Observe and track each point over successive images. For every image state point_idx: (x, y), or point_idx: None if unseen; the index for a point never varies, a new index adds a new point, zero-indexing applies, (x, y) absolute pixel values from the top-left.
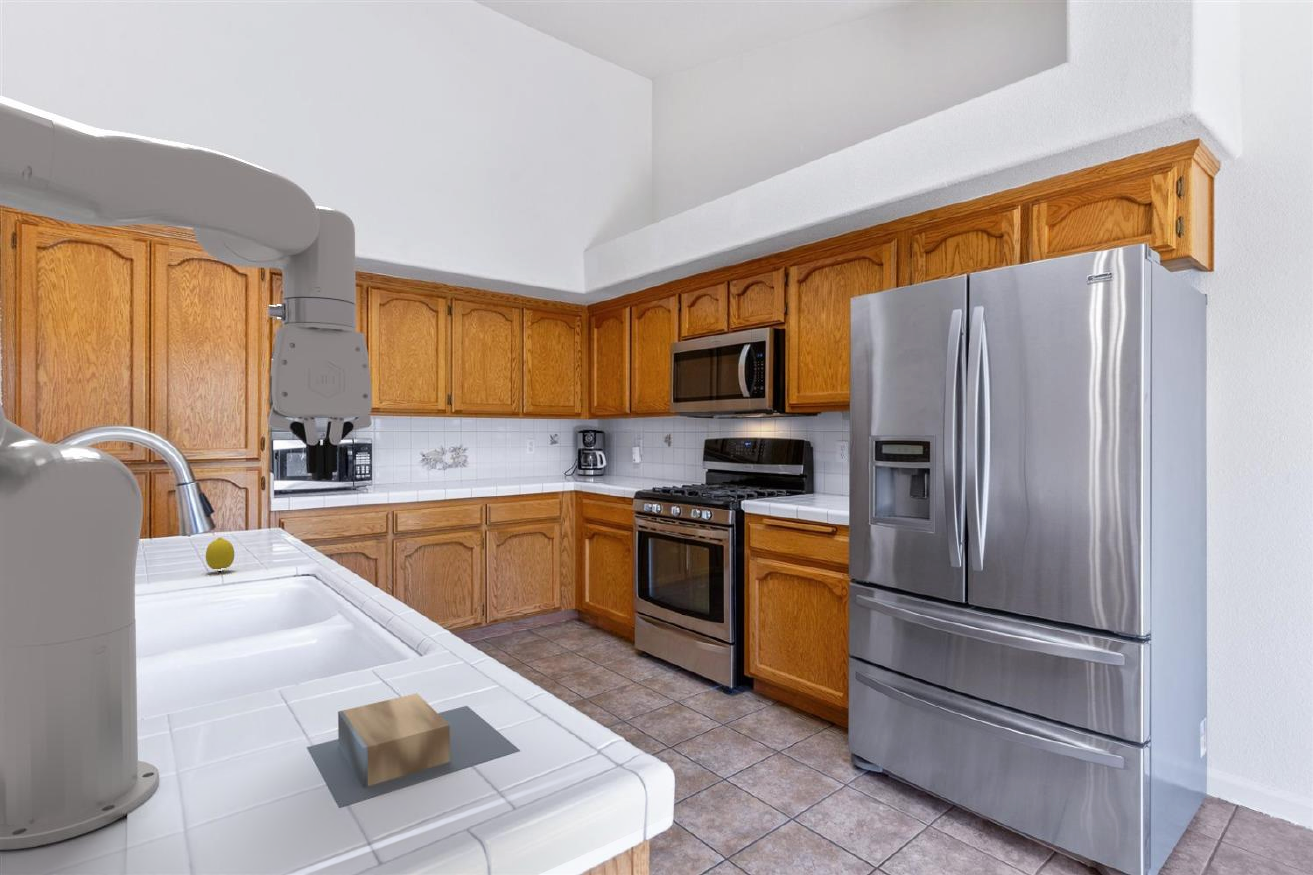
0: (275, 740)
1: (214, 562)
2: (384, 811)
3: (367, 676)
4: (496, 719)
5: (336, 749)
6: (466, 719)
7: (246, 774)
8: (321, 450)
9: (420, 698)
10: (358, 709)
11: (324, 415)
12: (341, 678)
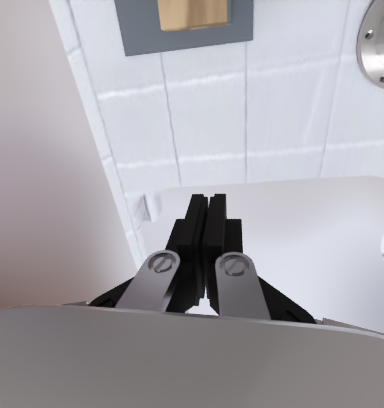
0: (267, 80)
1: None
2: None
3: (186, 175)
4: (107, 15)
5: (233, 18)
6: (129, 21)
7: (300, 17)
8: (210, 234)
9: (160, 10)
10: (214, 14)
11: (183, 315)
12: (203, 182)
